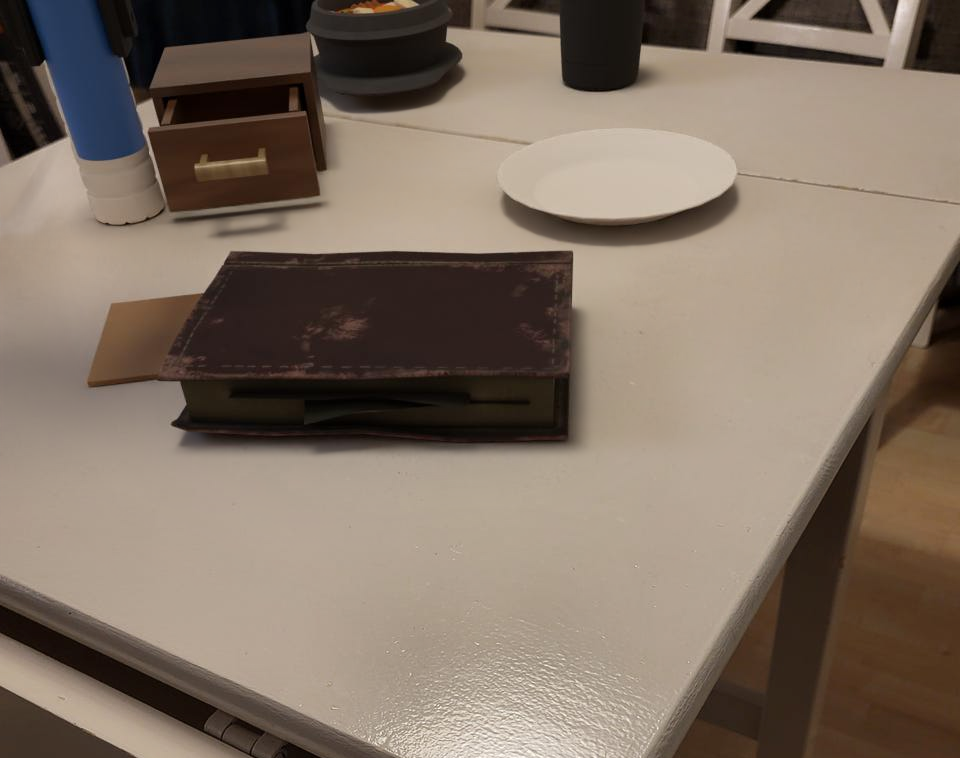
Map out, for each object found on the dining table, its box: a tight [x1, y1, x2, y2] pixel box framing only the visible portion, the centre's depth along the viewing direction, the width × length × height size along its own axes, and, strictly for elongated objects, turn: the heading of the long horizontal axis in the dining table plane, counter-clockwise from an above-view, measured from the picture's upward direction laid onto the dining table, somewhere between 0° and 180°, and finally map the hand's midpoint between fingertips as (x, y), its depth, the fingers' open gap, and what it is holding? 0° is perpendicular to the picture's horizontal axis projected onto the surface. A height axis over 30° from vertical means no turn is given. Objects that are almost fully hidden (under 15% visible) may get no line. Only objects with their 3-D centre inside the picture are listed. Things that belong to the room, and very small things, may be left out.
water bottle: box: [42, 57, 165, 226], centre depth 82 cm, size 9×6×25 cm
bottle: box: [25, 0, 146, 161], centre depth 59 cm, size 4×4×11 cm
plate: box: [496, 127, 739, 227], centre depth 86 cm, size 21×21×2 cm
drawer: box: [147, 83, 321, 213], centre depth 89 cm, size 17×14×7 cm
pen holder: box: [558, 0, 646, 92], centre depth 107 cm, size 9×9×10 cm
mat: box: [86, 292, 204, 388], centre depth 72 cm, size 10×12×1 cm
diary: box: [156, 250, 574, 443], centre depth 65 cm, size 19×25×5 cm
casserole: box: [305, 0, 463, 97], centre depth 113 cm, size 25×19×8 cm
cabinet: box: [149, 32, 328, 172], centre depth 97 cm, size 14×15×9 cm
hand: (81, 52), depth 59 cm, fingers closed on bottle, 4 cm apart
